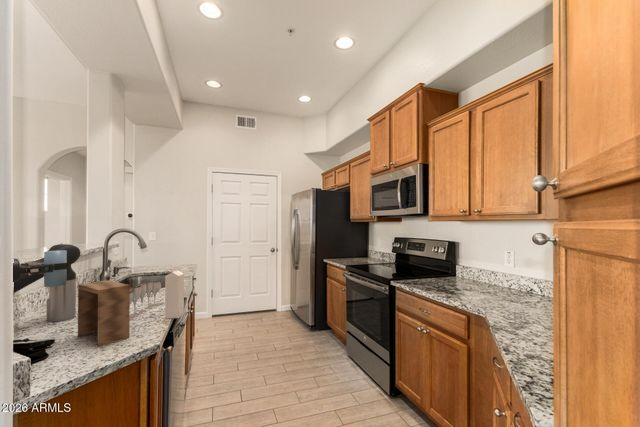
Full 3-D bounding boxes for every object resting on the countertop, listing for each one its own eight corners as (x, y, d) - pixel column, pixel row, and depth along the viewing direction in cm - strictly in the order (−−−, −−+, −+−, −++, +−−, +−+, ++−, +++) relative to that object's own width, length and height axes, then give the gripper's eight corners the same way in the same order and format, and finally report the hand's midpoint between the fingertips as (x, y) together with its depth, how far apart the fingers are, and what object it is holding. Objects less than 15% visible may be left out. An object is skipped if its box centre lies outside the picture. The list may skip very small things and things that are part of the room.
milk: (184, 314, 141) (184, 266, 141) (178, 318, 135) (179, 268, 135) (170, 314, 140) (171, 266, 141) (164, 318, 134) (165, 268, 135)
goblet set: (130, 321, 131) (130, 290, 132) (116, 321, 131) (117, 290, 132) (163, 303, 159) (163, 278, 160) (152, 303, 159) (152, 278, 160)
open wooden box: (98, 346, 105) (98, 290, 105) (77, 336, 115) (78, 284, 115) (129, 337, 113) (129, 284, 113) (107, 328, 123) (107, 280, 123)
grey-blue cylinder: (39, 287, 104) (40, 252, 104) (50, 283, 109) (50, 250, 109) (60, 286, 105) (61, 251, 105) (69, 282, 111) (69, 250, 111)
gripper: (-8, 281, 100) (58, 273, 113) (1, 286, 91) (71, 277, 105) (-8, 258, 100) (58, 253, 114) (2, 261, 91) (71, 255, 105)
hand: (64, 265), depth 109 cm, fingers closed on grey-blue cylinder, 6 cm apart
